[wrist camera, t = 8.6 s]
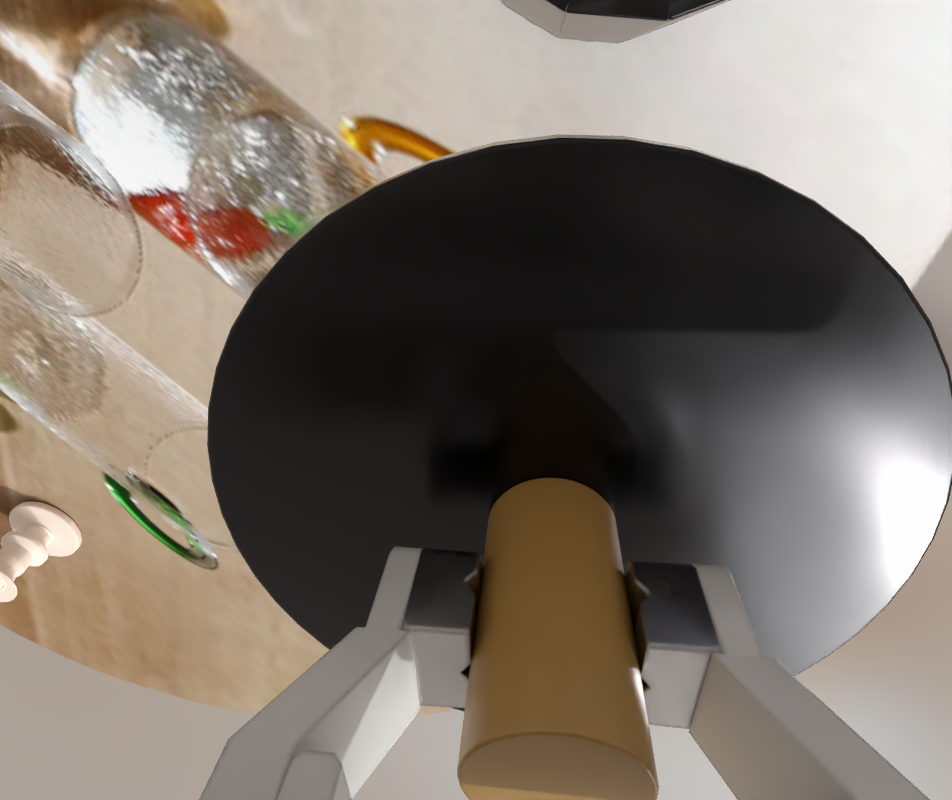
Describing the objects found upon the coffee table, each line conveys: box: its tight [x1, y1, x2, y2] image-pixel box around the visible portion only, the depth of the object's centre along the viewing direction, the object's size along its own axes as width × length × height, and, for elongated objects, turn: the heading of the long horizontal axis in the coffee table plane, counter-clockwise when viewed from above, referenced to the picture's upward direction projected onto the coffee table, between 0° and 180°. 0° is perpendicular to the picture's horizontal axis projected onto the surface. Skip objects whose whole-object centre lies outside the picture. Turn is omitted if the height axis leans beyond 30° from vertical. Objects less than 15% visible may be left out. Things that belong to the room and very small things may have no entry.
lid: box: [207, 135, 952, 800], centre depth 9 cm, size 13×13×6 cm
